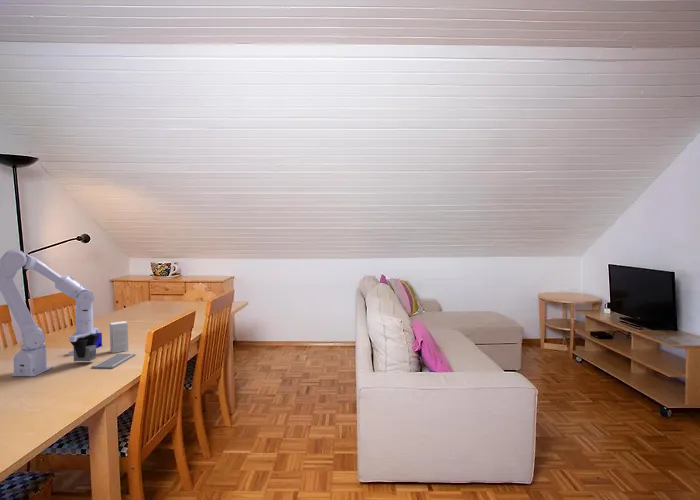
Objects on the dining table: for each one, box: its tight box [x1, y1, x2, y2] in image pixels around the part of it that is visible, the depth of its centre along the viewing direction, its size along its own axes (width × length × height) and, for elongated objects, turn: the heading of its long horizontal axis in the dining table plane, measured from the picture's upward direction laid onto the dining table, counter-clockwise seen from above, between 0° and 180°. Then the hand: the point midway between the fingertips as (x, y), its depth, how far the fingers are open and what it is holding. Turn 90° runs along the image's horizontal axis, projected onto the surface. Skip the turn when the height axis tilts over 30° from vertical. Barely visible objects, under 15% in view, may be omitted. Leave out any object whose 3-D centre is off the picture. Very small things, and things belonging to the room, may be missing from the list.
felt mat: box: [90, 353, 136, 370], centre depth 163 cm, size 16×8×1 cm, turn 179°
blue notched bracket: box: [94, 332, 103, 349], centre depth 178 cm, size 12×4×6 cm, turn 170°
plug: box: [68, 345, 97, 362], centre depth 161 cm, size 4×9×5 cm, turn 89°
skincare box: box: [109, 320, 129, 354], centre depth 177 cm, size 6×4×12 cm
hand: (85, 355), depth 161 cm, fingers closed on plug, 4 cm apart
